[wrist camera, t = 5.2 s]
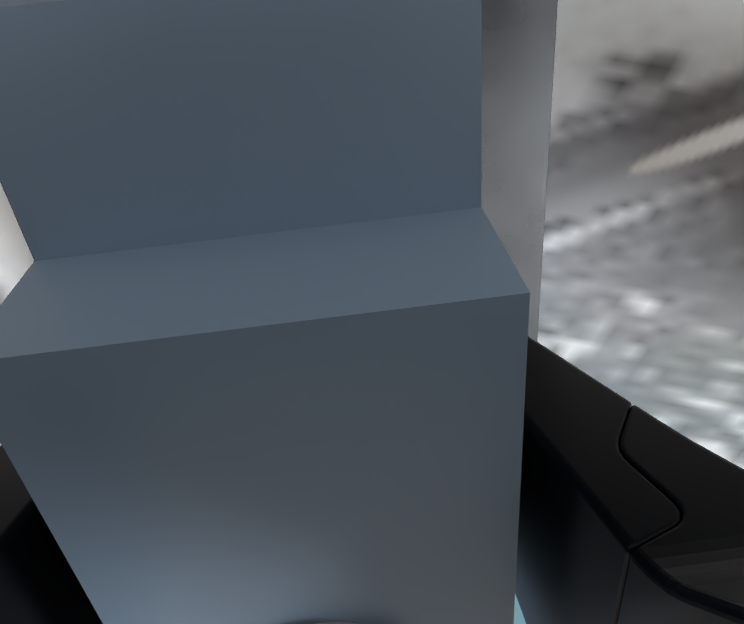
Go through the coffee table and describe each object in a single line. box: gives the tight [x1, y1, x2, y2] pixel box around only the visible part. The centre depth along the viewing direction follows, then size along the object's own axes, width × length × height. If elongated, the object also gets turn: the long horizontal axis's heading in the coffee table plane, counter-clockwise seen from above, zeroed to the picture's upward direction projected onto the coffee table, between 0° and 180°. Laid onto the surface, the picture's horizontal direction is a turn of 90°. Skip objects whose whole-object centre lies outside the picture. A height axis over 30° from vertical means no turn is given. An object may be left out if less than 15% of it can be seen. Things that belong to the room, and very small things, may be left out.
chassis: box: [481, 0, 558, 341], centre depth 17 cm, size 12×18×3 cm, turn 5°
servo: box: [0, 0, 530, 624], centre depth 8 cm, size 4×10×5 cm, turn 5°
